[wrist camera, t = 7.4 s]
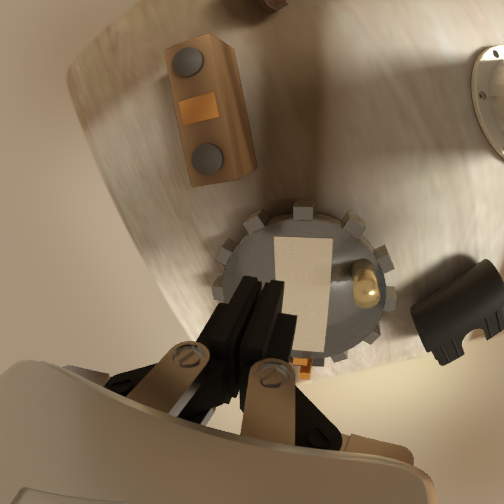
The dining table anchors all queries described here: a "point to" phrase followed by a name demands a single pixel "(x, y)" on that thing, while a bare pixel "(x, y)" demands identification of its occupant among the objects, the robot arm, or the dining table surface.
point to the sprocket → (314, 277)
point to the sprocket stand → (310, 367)
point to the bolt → (272, 4)
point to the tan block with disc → (210, 110)
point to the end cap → (461, 311)
